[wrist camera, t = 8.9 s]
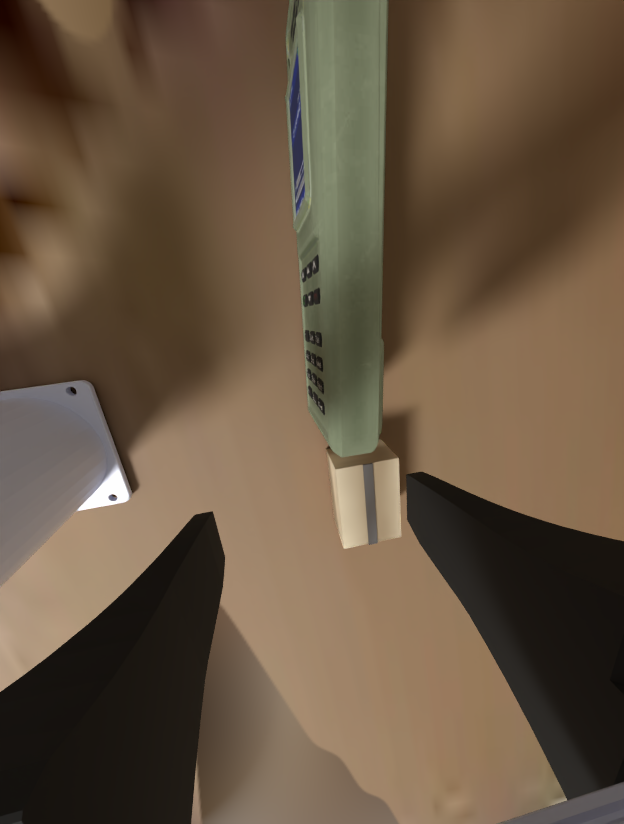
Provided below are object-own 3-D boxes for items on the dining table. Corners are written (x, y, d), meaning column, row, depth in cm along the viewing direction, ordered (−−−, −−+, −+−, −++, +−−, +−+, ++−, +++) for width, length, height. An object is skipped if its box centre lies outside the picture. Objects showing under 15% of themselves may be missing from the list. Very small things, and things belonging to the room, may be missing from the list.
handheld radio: (301, 416, 20) (263, -158, 12) (348, 410, 20) (341, -142, 13) (323, 460, 14) (274, -670, 6) (390, 451, 14) (427, -596, 6)
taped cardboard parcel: (334, 519, 22) (344, 550, 19) (205, -594, 9) (176, -1024, 6) (384, 509, 23) (401, 537, 20) (330, -570, 10) (359, -963, 7)
